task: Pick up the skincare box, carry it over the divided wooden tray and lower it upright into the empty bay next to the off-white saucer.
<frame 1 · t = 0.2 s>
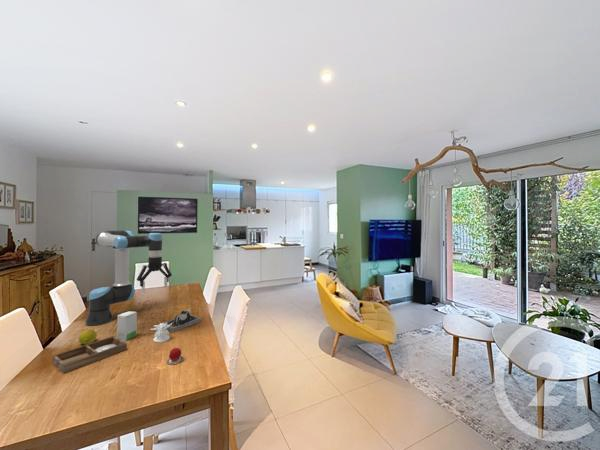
hand: (154, 289, 161), 28 cm above the table, fingers open, 13 cm apart
skincare box: (126, 339, 150), on the table
valet frame: (181, 324, 173), on the table
camera: (181, 324, 174), on the table, touching valet frame
red push button: (175, 361, 128), on the table
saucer: (105, 350, 135), point 1 cm above the table, touching divided wooden tray
divided wooden tray: (91, 357, 129), on the table
lemon: (88, 343, 144), on the table
figurine: (161, 339, 150), on the table
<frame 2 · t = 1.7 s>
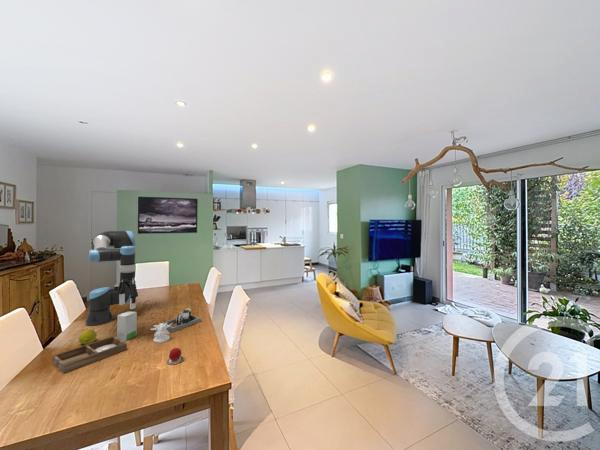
hand: (127, 306, 150), 20 cm above the table, fingers open, 13 cm apart
camera: (183, 323, 176), on the table, touching valet frame
everything else where it was.
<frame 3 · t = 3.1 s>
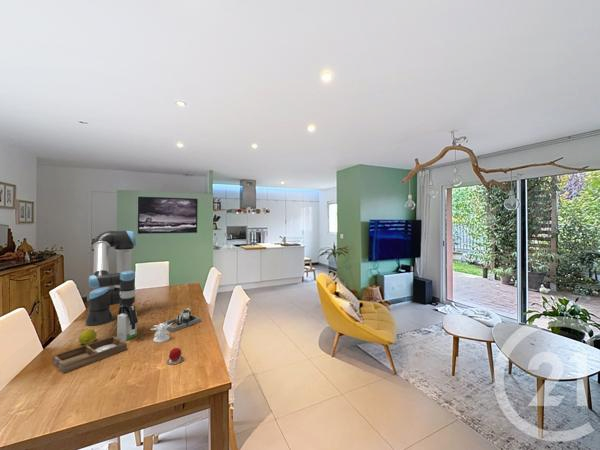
hand: (126, 331, 150), 4 cm above the table, fingers open, 13 cm apart
nothing on the table moved.
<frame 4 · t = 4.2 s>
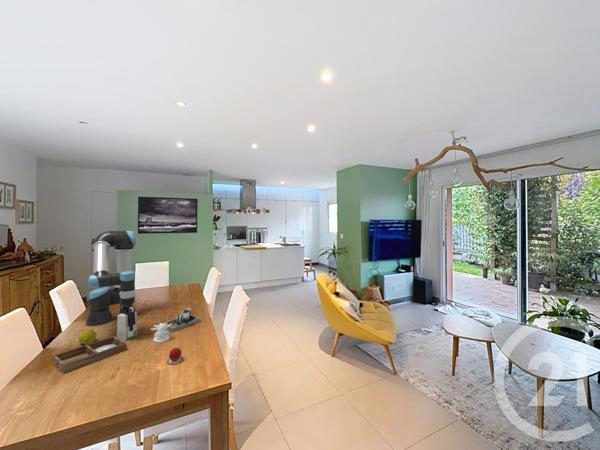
hand: (126, 334, 150), 3 cm above the table, fingers closed on skincare box, 8 cm apart
skincare box: (126, 339, 150), on the table, touching gripper
everything else where it was.
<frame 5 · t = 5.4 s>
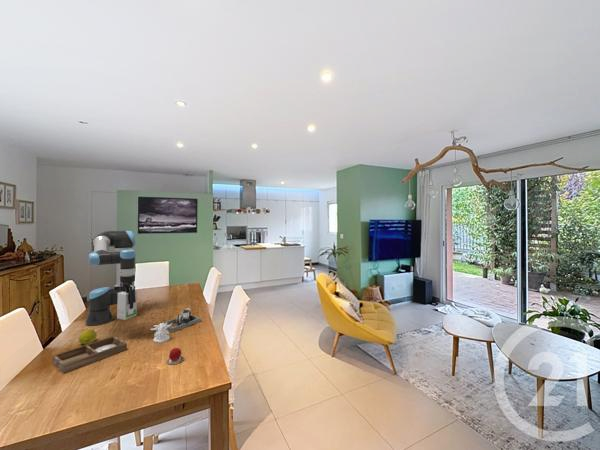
hand: (127, 312, 151), 16 cm above the table, fingers closed on skincare box, 8 cm apart
skincare box: (126, 317, 151), point 13 cm above the table, touching gripper
everything else where it was.
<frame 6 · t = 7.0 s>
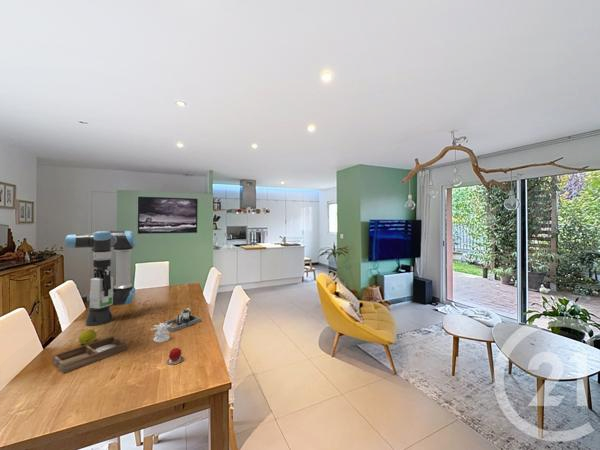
hand: (101, 300, 135), 28 cm above the table, fingers closed on skincare box, 8 cm apart
skincare box: (101, 306, 135), point 25 cm above the table, touching gripper
everything else where it was.
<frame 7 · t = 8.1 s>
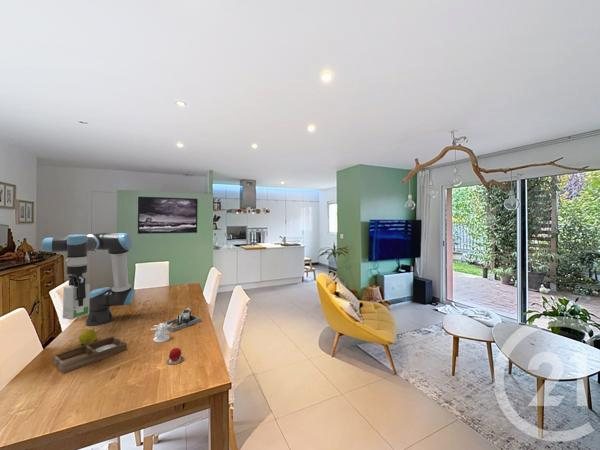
hand: (76, 310, 124), 26 cm above the table, fingers closed on skincare box, 8 cm apart
skincare box: (76, 316, 124), point 23 cm above the table, touching gripper
everything else where it was.
when the fingers open (5 cm above the table, at t = 12.7 s): skincare box drops 1 cm, resting on divided wooden tray.
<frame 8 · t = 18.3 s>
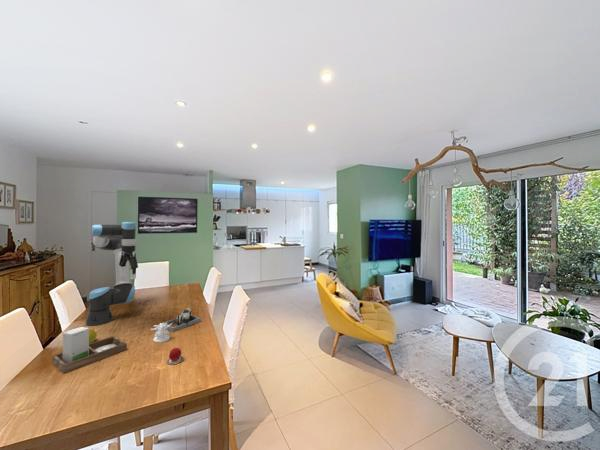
hand: (128, 277, 162), 35 cm above the table, fingers open, 13 cm apart
skincare box: (75, 361, 124), point 1 cm above the table, touching divided wooden tray
everything else where it was.
at the end: skincare box inside the target area on the divided wooden tray (0.3 cm from its centre), point 0.8 cm above the divided wooden tray's base; skincare box tilted 0°; the gripper is holding nothing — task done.
